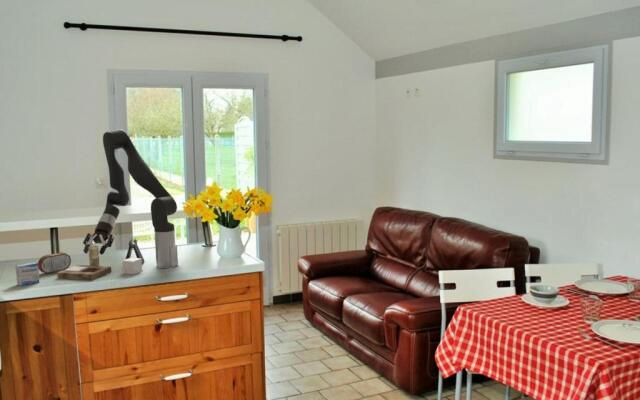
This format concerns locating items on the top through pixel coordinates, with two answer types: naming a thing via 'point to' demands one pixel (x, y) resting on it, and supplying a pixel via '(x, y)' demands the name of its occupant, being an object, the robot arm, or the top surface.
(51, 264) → the tin
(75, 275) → the brown wooden tray
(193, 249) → the top surface
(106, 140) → the robot arm
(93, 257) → the birch peg
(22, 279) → the medicine box
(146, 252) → the top surface
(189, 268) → the top surface
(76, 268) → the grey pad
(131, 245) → the dark grey angled piece
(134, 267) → the white rounded cube
